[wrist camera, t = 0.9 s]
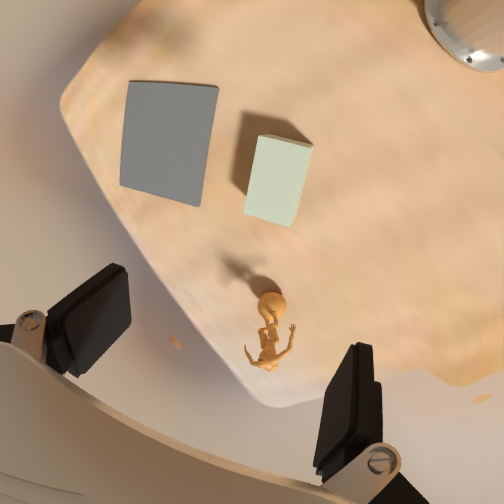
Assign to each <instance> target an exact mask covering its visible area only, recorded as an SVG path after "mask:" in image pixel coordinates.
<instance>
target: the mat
mask: <svg viewBox="0 0 504 504" xmlns="http://www.w3.org/2000/svg"><path fill="white" fill-rule="evenodd" d="M218 92H219V88H215V87H206V86H197V85H185V84H172V83H152V82H129V87H128V94H127V101H126V109H125V118H124V127H123V138H122V151H121V168H120V185H121V186H124V187H128V188H132V189H135V190H139V191H143V192H146V193H150V194H153V195H157V196H160V197H164V198H168V199H171V200H175V201H178V202H182V203H185V204H188V205H192V206H195V207H199V206H200V202H201V195H202V188H203V181H204V174H205V167H206V161H207V154H208V148H209V142H210V136H211V130H212V124H213V119H214V113H215V108H216V102H217V97H218Z"/></svg>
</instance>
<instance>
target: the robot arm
mask: <svg viewBox="0 0 504 504" xmlns="http://www.w3.org/2000/svg"><path fill="white" fill-rule="evenodd" d="M424 13H425V17H426V21H427V24H428V26H429V28H430V30H431V32H432V34H433V35H434V37H435V38H436V40H437V41H438V42H439V44H440V45H441V46H442V47H443V48H444V50H446V51H447V52H448V53H449V54H450V55H451V56H452V57H453V58H454V59H456V60H457V61H458V62H460V63H461V64H463V65H465V66H467V67H468V68H471V69H473V70H476V71H480V72H495V71H498V70H501V69H503V68H504V0H424ZM434 24H435V25H436V26H435V25H434ZM466 59H467V60H468V61H467V60H466ZM47 313H48V316H46V317H45V315H44V314H43V313H42V312H41V311H38V310H30V311H27V312H24V313H23V314H21V315H20V316H19V317H18V319H17V321H16V324H8V325H0V504H429V502H428V501H427V500H426V499H425V498H424V497H423V496H422V495H421V494H420V493H419V492H418V491H417V490H416V489H415V488H414V487H413V486H412V485H411V484H410V483H409V482H408V481H407V480H406V478H405V477H404V476H403V475H402V474H401V473H400V472H399V470H400V467H401V457H400V455H399V453H398V451H397V450H396V449H395V448H394V447H392V446H391V445H389V444H386V443H383V414H382V387H381V383H380V382H376V381H374V365H373V348H372V345H369V344H365V343H361V342H357V343H356V345H353V344H352V345H351V346H350V347H349V349H348V351H347V353H346V355H345V357H344V359H343V360H342V362H341V364H340V366H339V368H338V369H337V371H336V373H335V375H334V377H333V378H332V380H331V382H330V383H329V385H328V387H327V389H326V392H325V396H324V403H323V410H322V417H321V422H320V429H319V435H318V440H317V445H316V451H315V456H314V461H313V467H316V468H317V470H316V475H321V476H322V483H323V484H322V485H321V486H316V485H312V484H310V483H306V482H302V481H298V480H294V479H290V478H287V477H283V476H279V475H275V474H272V473H268V472H264V471H261V470H257V469H254V468H250V467H248V466H244V465H241V464H238V463H235V462H232V461H229V460H226V459H223V458H220V457H217V456H215V455H212V454H209V453H206V452H204V451H201V450H199V449H196V448H194V447H191V446H188V445H186V444H184V443H182V442H179V441H177V440H175V439H173V438H170V437H168V436H166V435H164V434H161V433H159V432H157V431H155V430H153V429H151V428H149V427H147V426H145V425H143V424H141V423H139V422H137V421H135V420H133V419H131V418H130V417H128V416H126V415H124V414H122V413H121V412H119V411H117V410H115V409H114V408H112V407H110V406H108V405H106V404H105V403H103V402H102V401H100V400H98V399H97V398H95V397H94V396H92V395H90V394H88V393H87V392H86V391H84V390H83V389H81V388H79V387H78V386H77V385H75V384H74V383H72V382H71V381H69V380H68V379H66V378H65V373H66V372H67V371H68V372H69V373H70V374H72V375H73V376H75V377H77V378H78V377H79V376H80V375H81V374H85V373H86V372H87V371H88V370H89V369H90V368H91V367H92V365H93V364H94V363H95V362H96V361H97V360H98V359H99V358H100V357H101V356H102V354H104V353H105V351H106V350H107V349H108V348H109V347H110V346H111V345H112V344H113V343H114V342H115V341H116V340H117V339H118V338H119V337H120V336H121V335H122V333H123V332H124V331H125V330H126V329H127V328H128V327H129V326H130V324H131V309H130V299H129V286H128V273H127V272H126V270H125V268H124V267H123V266H120V265H118V264H115V263H111V264H109V265H108V266H106V267H105V268H104V269H102V270H101V271H100V272H98V273H97V274H95V275H94V276H93V277H91V278H90V279H88V280H87V281H86V282H84V283H83V284H82V285H80V286H79V287H78V288H76V289H75V290H74V291H72V292H71V293H70V294H68V295H67V296H66V297H65V298H63V299H62V300H61V301H59V302H58V303H57V304H56V305H54V306H53V307H52V308H50V309H49V310H48V311H47Z"/></svg>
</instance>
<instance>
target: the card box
mask: <svg viewBox="0 0 504 504" xmlns="http://www.w3.org/2000/svg"><path fill="white" fill-rule="evenodd" d="M313 147H314V145H312V144H308V143H304V142H300V141H297V140H293V139H289V138H285V137H280V136H276V135H272V134H264V135H259V136H258V141H257V146H256V151H255V156H254V161H253V166H252V171H251V176H250V181H249V186H248V191H247V197H246V202H245V207H244V212H243V214H246V215H250V216H253V217H257V218H260V219H263V220H267V221H270V222H274V223H277V224H280V225H283V226H287V227H291V225H292V223H293V221H294V219H295V217H296V214H297V210H298V207H299V203H300V199H301V195H302V191H303V187H304V183H305V180H306V176H307V172H308V168H309V164H310V160H311V156H312V152H313Z"/></svg>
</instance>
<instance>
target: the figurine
mask: <svg viewBox="0 0 504 504" xmlns="http://www.w3.org/2000/svg"><path fill="white" fill-rule="evenodd" d="M258 311H259V313H260V315H261V316H262V317H263V318H264V319H265V322H266V327H267V328H260V329H259V330H258V333H259V337H260V341H261V348H262V349H263V350H262V352H261V353H260V356H259V359H258V362H257V361H254V362H253V359H252V358H251V356H250V354H249V353H248V352H247V350H246V346H244V347H245V353H246V356H247V357H248V359H249V361H250V364H251V365H253V366H258V367H260V368H264V369H265V370H267V371H274V370H276V369H277V367H278V363H279V361H280V360H281V359H282V358H283V357H284V356H286V355H287V354H288V353H289V352H290V351H291V349H292V343H293V338H294V333H295V327H294V324H293V327H292V324H291V329H290V327H289V329H290V330H291V335H290V338H289V343H288V347H287V349H286V350H284V351H282V352H281V353H280V354H278V355H277V354H276V350H275V344H276V343H278V342H279V338H278V335H277V331H276V328H278V320H277V319H279V318H281V317H282V316H283V315H284V313H285V311H286V301H285V299H284V298H283V296H282V295H280V294H279V293H276V292H268V293H265V294H264V295H262V296H261V298H260V299H259V301H258ZM269 320H274V323H271V324H269ZM267 332H268V336H269V338H270V339H268V336H267V335H266V334H265V333H267Z"/></svg>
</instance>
